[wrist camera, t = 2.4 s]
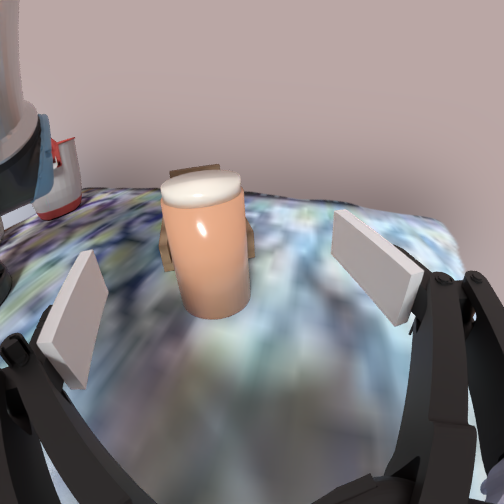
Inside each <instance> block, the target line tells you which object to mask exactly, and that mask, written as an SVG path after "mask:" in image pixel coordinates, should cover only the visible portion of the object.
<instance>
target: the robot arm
mask: <svg viewBox="0 0 504 504" xmlns="http://www.w3.org/2000/svg"><path fill="white" fill-rule="evenodd" d="M18 18H19V0H0V216H2V215H5V214H6V213H9V212H11V211H13V210H16V209H18V208H20V207H22V206H25V205H27V204H29V203H33V202H34V201H35V200H36V199H38V198H40V197H43V196H45V195H47V194H48V193H49V192H50V191H51V189H52V187H53V184H54V170H53V157H52V153H51V152H52V148H51V134H50V125H49V119H48V116H47V115H46V114H42V115H41V114H38V115H37V111H36V109H35V107H34V105H33V104H31V103H30V102H28V101H25V100H23V92H22V85H21V76H20V64H19V44H18ZM331 254H332V255H333V257H334V258H335V259H336V260H337V261H338V262H339V263H340V264H341V265H342V266H343V268H344V269H345V270H346V271H347V272H348V273H349V274H350V275H351V276H352V278H353V279H354V280H355V281H356V282H357V283H358V284H359V286H360V287H361V288H362V289H363V290H364V291H365V292H366V294H367V295H368V296H369V297H370V298H371V299H372V300H373V302H374V303H375V304H376V305H377V306H378V307H379V309H380V310H381V311H382V312H383V313H384V315H385V316H386V317H387V318H388V319H389V321H390V322H391V323H392V324H393V325H394V327H396V326H398V325H401V324H403V323H406V322H407V321H408V319H409V316H410V313H411V312H412V313H413V314H414V315H415V316H416V317H415V319H414V322H413V325H412V327H411V329H410V332H409V335H411V333H412V332H413V339H412V352H411V362H410V371H409V379H408V387H407V393H406V400H405V406H404V411H403V416H402V422H401V426H400V431H399V436H398V440H397V444H396V448H395V452H394V454H393V457H392V458H391V460H390V462H389V464H388V466H387V468H386V470H385V473H384V476H382V477H374V478H372V476H371V474H368V475H366V476H363V477H361V478H359V479H357V480H354V481H352V482H350V483H347V484H345V485H342V486H340V487H337V488H336V489H334V490H333V491H331V492H330V493H328V494H326V495H325V496H323V497H322V498H320V499H318V500H317V501H315V502H313V503H312V504H504V307H503V305H502V304H501V302H500V300H499V298H498V297H497V295H496V293H495V292H494V290H493V288H492V287H491V285H490V284H489V282H488V280H487V279H486V278H485V277H484V276H483V275H482V274H481V273H479V272H477V271H468V272H466V273H465V276H464V279H463V280H459V281H454V279H453V278H452V277H451V276H449V275H448V274H446V273H443V272H433V273H432V272H431V271H429V270H428V269H427V268H426V267H425V266H423V265H422V264H421V263H420V262H419V261H417V260H415V258H414V257H413V256H411V255H410V254H409V253H408V252H406V251H405V250H404V249H402V248H400V247H398V246H396V245H392V244H391V243H390V242H389V241H387V240H386V239H385V238H383V237H382V236H381V235H380V234H378V233H377V232H376V231H374V230H373V229H372V228H370V227H369V226H368V225H366V224H365V223H364V222H362V221H361V220H360V219H358V218H357V217H356V216H354V215H353V214H352V213H350V212H349V211H347V210H346V209H344V210H336V211H334V221H333V235H332V247H331ZM11 284H12V279H11V276H10V274H9V272H8V270H7V268H6V266H5V265H4V264H3V262H2V261H1V260H0V304H1V303H2V302H3V300H4V299H5V297H6V296H7V294H8V292H9V290H10V288H11ZM108 293H109V292H108V289H107V287H106V284H105V282H104V279H103V277H102V274H101V271H100V268H99V266H98V263H97V260H96V257H95V254H94V251H93V250H88V251H83V252H80V254H79V256H78V258H77V259H76V261H75V263H74V265H73V266H72V268H71V270H70V272H69V274H68V276H67V278H66V280H65V281H64V283H63V285H62V287H61V289H60V291H59V293H58V295H57V297H56V299H55V301H54V304H53V305H49V306H48V308H47V309H46V310H45V311H44V312H43V314H42V316H41V318H40V320H39V322H38V325H37V327H36V328H37V329H35V331H34V334H33V336H32V338H31V341H30V343H29V344H28V343H27V341H26V340H25V338H24V337H23V335H22V334H20V333H14V334H11V335H9V336H8V337H7V338H6V339H5V340H4V341H3V342H2V344H1V346H0V355H1V357H2V358H3V359H4V360H5V362H6V363H7V364H8V366H9V367H6V368H3V369H0V504H61V502H60V500H59V497H58V495H57V492H56V490H55V487H54V485H53V482H52V479H51V476H50V473H49V470H48V467H47V464H46V461H45V457H44V454H43V451H42V447H41V443H42V445H43V447H44V449H45V451H46V452H47V454H48V456H49V458H50V460H51V461H52V463H53V465H54V466H55V468H56V470H57V471H58V473H59V475H60V476H61V478H62V479H63V481H64V482H65V484H66V485H67V487H68V488H69V490H70V491H71V493H72V494H73V496H74V497H75V498H76V500H77V501H78V503H79V504H157V503H156V502H155V501H154V500H153V499H152V498H151V497H150V496H149V495H147V494H146V493H145V492H144V491H143V490H142V489H141V488H140V487H139V486H138V485H137V484H136V483H135V482H134V481H133V480H132V478H131V477H130V476H129V475H128V474H127V473H126V472H125V471H124V470H123V469H122V468H121V467H120V465H119V464H118V463H117V462H116V461H115V460H114V458H113V457H112V456H111V455H110V454H109V453H108V451H107V450H106V449H105V448H104V446H103V445H102V444H101V443H100V441H99V440H98V439H97V437H96V436H95V435H94V433H93V432H92V431H91V429H90V428H89V427H88V425H87V424H86V422H85V421H84V420H83V418H82V417H81V415H80V414H79V412H78V411H77V409H76V408H75V406H74V405H73V403H72V402H71V400H70V398H69V397H68V395H67V394H66V392H65V391H64V390H63V389H62V387H63V383H64V382H65V383H66V384H67V385H68V387H69V388H70V389H86V386H87V380H88V374H89V369H90V364H91V359H92V355H93V350H94V346H95V341H96V337H97V333H98V329H99V325H100V321H101V317H102V314H103V310H104V306H105V303H106V299H107V296H108ZM475 312H476V320H475V321H474V319H473V316H474V314H475ZM468 387H469V391H470V395H471V399H472V404H473V408H474V413H475V418H476V424H477V429H478V436H479V442H480V449H481V455H482V461H483V464H484V468H485V472H486V474H487V479H486V480H484V481H483V482H482V484H481V487H480V490H481V493H482V494H484V495H487V496H486V500H485V502H484V501H479V500H475V499H470V498H469V494H470V489H471V483H472V477H473V470H474V462H475V453H476V441H477V432H476V428H475V426H472V425H469V424H468ZM40 441H41V443H40Z"/></svg>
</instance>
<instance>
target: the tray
mask: <svg viewBox="0 0 504 504" xmlns="http://www.w3.org/2000/svg"><path fill="white" fill-rule="evenodd" d="M204 170H220V165H219V164H215V165H207V166H199V167H192V168H186V169H180V170H174V171H170V179H171V178H173V177H176V176H179V175H182V174H186V173H190V172H196V171H204ZM245 220H246V235H247V250H248V258H253V257H255V252H254V233H253V230H252V228H251V226H250V224H249V222H248V221H247V219H246V217H245ZM159 250H160V254H161V258H162V262H163V266H164V270H165V272H167V271H174V270H175V269H174V265H173V261H172V256H171V252H170V247H169V242H168V238H167V233H166V228H165V223H164V218H163V219H162V225H161V232H160V240H159Z"/></svg>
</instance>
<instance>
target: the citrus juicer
mask: <svg viewBox="0 0 504 504" xmlns="http://www.w3.org/2000/svg"><path fill="white" fill-rule="evenodd" d="M74 138H75V137H73V138H70V139H67V140H63V141H60V142H56V141H54V140H53V139H52V138H51V148H52V152H51V153H52V157H53V170H54V184H53V187H52V189H51V191H50V192H49V193H48V194H47V195H45V196H43V197H40V198H38V199H36V200H35V201H34V202H33V203H31V204H32V206H33V207H34V209H35V211H36V213H37V214H38V216H39V217H40V218H41V219H42V220H48V221H49V220H52V219H53V218H56V217H59V216H62V215H64V214H66V213H68V212H71V211H74V210H75V209H76V208H77V207H78V206H79V205H80V203H81V196H82V193H81V187H82V186H81V175H80V168H79V164H78V158H77V153H76V147H75V141H74Z"/></svg>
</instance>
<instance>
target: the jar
mask: <svg viewBox="0 0 504 504" xmlns="http://www.w3.org/2000/svg"><path fill="white" fill-rule="evenodd" d="M161 193H162V198H161V207H162V212H163V218H164V223H165V228H166V233H167V238H168V242H169V247H170V252H171V256H172V261H173V265H174V269H175V274H176V278H177V282H178V286H179V290H180V294H181V298H182V302H183V305H184V307H185V309H186V310H187V311H188V312H189V313H190V314H192V315H194V316H196V317H199V318H202V319H222V318H226V317H229V316H232V315H234V314H236V313H238V312H239V311H241V310H242V309H243V308H244V307H245V306H246V305H247V304H248V302H249V300H250V296H251V294H250V279H249V264H248V250H247V235H246V220H245V205H244V190H243V188H242V187H241V182H240V175H239V174H238V173H236V172H233V171H226V170H204V171H196V172H190V173H186V174H182V175H179V176H176V177H173V178H171V179H169V180H167V181H165V182H164V183H163V184H162V185H161Z"/></svg>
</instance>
